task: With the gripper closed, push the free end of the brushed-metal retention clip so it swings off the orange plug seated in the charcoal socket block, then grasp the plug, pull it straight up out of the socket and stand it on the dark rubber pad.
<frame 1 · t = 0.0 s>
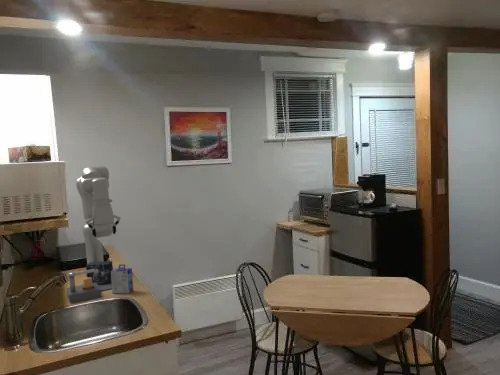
hand: (104, 235, 231), 31 cm above the table, fingers open, 9 cm apart
pad: (106, 287, 244), on the table
socket block: (84, 296, 232), on the table
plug: (89, 295, 233), resting in socket block
ink cartridge box: (123, 292, 236), on the table
small box: (101, 283, 253), on the table
clip: (82, 271, 231), point 13 cm above the table, hinge at 0.0°
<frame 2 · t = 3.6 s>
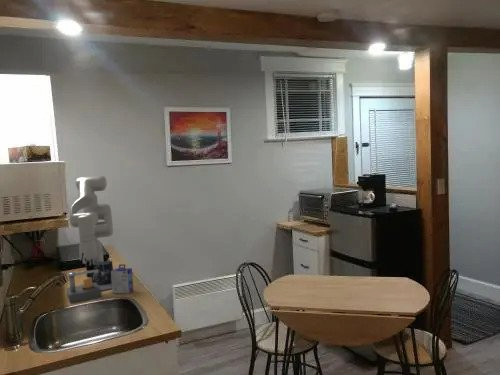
hand: (90, 272, 235), 11 cm above the table, fingers closed
clip: (82, 271, 231), point 13 cm above the table, hinge at -2.6°, touching gripper
everything else where it was.
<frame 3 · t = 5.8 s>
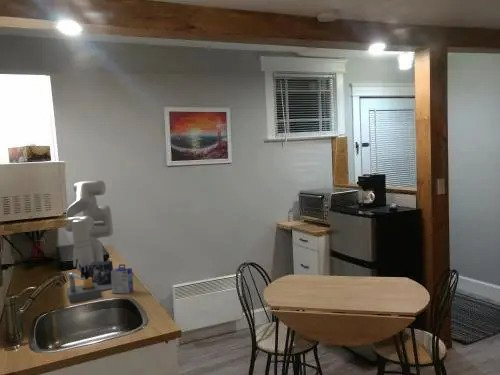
hand: (85, 278, 225), 11 cm above the table, fingers closed
clip: (76, 275, 225), point 13 cm above the table, hinge at -70.5°, touching gripper
everything else where it was.
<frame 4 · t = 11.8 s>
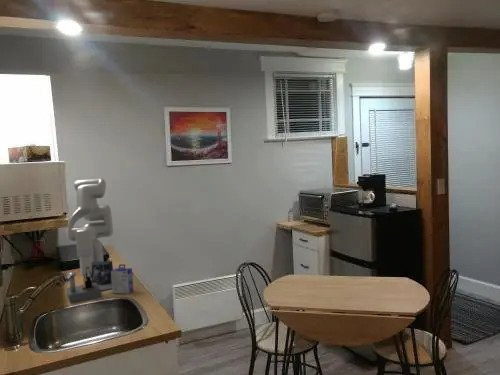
hand: (88, 286, 233), 5 cm above the table, fingers closed on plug, 5 cm apart
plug: (89, 295, 233), resting in socket block, touching gripper
clip: (69, 276, 223), point 13 cm above the table, hinge at -107.5°
everything else where it was.
when the fingers open (7 cm above the table, at t = 17.3 s): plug drops 1 cm, resting on pad.
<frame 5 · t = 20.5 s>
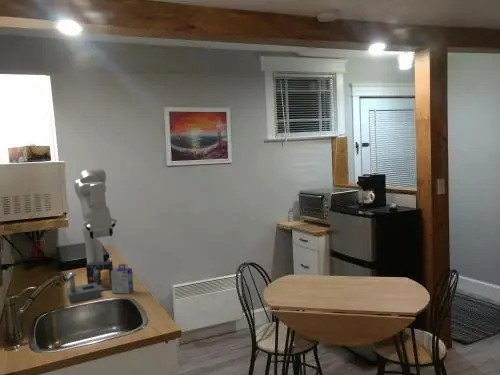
hand: (101, 237, 241), 28 cm above the table, fingers open, 9 cm apart
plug: (106, 286, 244), point 1 cm above the table, touching pad
everything else where it was.
at the end: clip at -108° (first picture: +0°); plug inside the target area on the pad (0.1 cm from its centre), point 0.6 cm above the pad's base; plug tilted 0° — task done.
